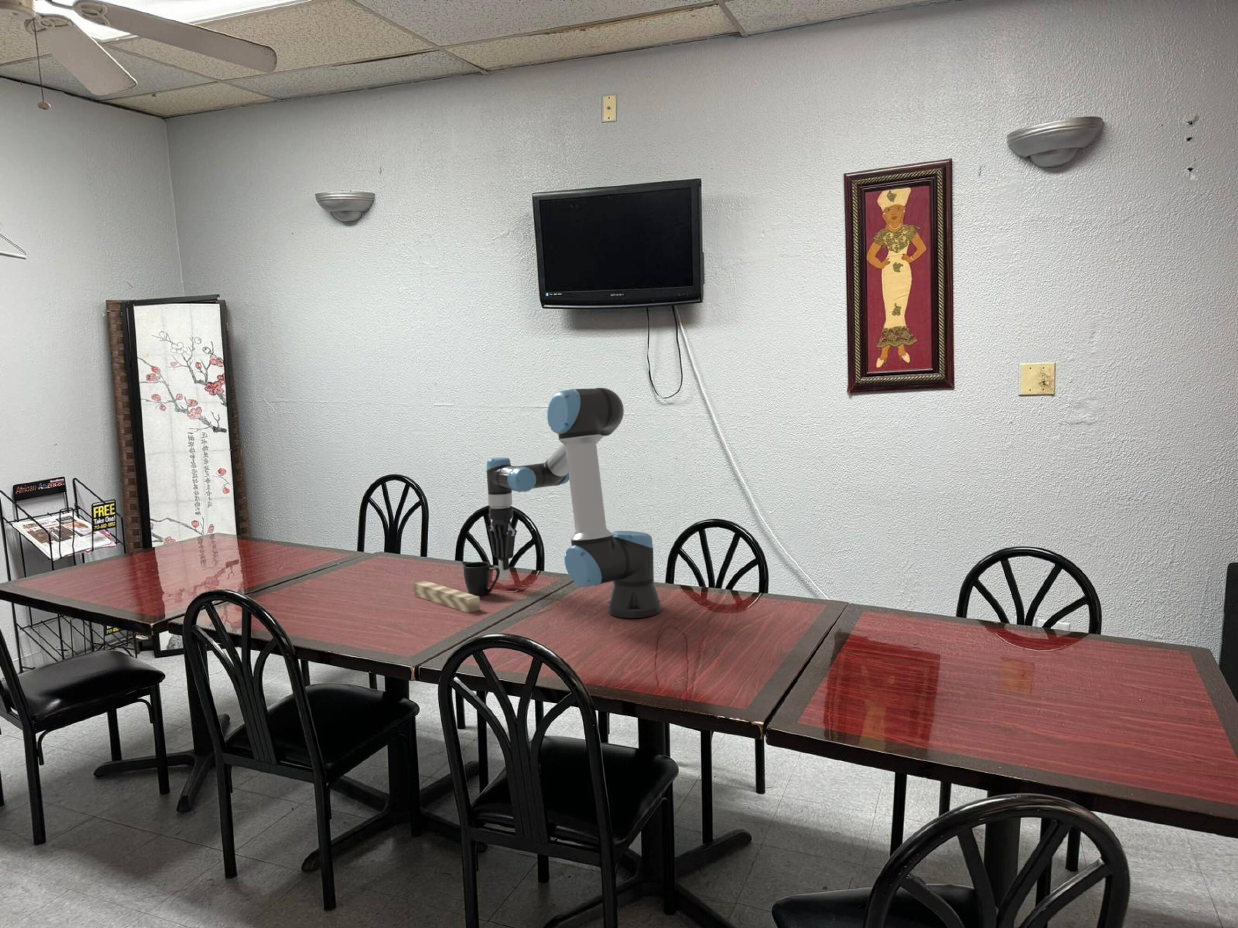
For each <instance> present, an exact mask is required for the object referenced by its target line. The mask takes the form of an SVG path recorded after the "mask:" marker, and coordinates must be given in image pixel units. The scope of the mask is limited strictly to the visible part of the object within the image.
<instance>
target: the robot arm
mask: <svg viewBox="0 0 1238 928" xmlns="http://www.w3.org/2000/svg"><path fill="white" fill-rule="evenodd" d="M546 412H547V414H546V415H547V416H546V417H547V423H548V426H549V428H550V430H551V431H552V432H553V433H555V434H557V435H558V441H559V442H560V443H561V445H560V446H559V447H558V448H557V449H556V450H555V451H554V452H553V453H552V454H551V455H550V456H549V458H548V459H546V461H545V462H542V463H534V464H526V465H525V464H524V465H512V464H511V459H510V458H509V457H504V456H503V457H491V458H489V459H487V461H486V480H487V482H486V483H487V503H488V507H489V508H488V518H489V520H491V524H490V526H487V527H486V529H487V532H488V534H489V540H490V545H491V550H492V555H493V556H494V557H496V559H497V564H498V565H497V566H498V567H497V568H499V569H500V575H499V578H498V580H500V581H505V580H509V579H510V559H513V558H514V553H515V552H514V551H515V542H516V541H515V540H516V535H517V532H518V530H517V529H513V527H512V526H513V525H512V521H511V519H513V518H514V508H513V506H512V505H513V495H512V494H513V493H512V492H513V491H514V492H518V493H527V492H530V491H531V490H533V489H540V488H546V487H547V488H548V487H556V486H557V487H558V486H560V485H565V484H567V483H568V482H569V488H570V496H571V497H570V498H571V504H572V514H573V515H572V516H573V521H574V522H573V523H574V530H575V532H574V534H573V535H572V537H570V541H571V542H570V543H571V546H569V547H568V548H567V549H566V550H565V554H564V565H565V566H564V567H565V569H566V572H567V574H568V576H569V577H570V579H571V580H573V582H574V583H575V584H576V585H578V586H580V587H583V588H587V587H597V586H599V585H602V584H607V583H610V582H613V587H612V591H611V595H610V600H609V601H608V604H607V605H608V606H607V607H608V614H610V615H611V616H614V617H617V618H622V619H624V618H625V619H639V618H640V619H641V618H648V617H649V618H650V617H652V616H655V615H657V614H660V612H661V611H662V607H661V605H662V604H661V600H660V598H659V596H658V592H657V589H656V586H655V574H654V573H655V571H654V549H655V548H654V545H653V537H652V536H651V535H650V534H649V533H646V532H642V531H633V530H614V531H613V532H611V531H610V530H609V529H608V528H607V522H606V514H605V513H606V512H605V506H604V498H603V497H604V496H603V491H602V490H603V489H602V482H601V481H602V480H601V471H600V463H599V455H598V448H597V447H598V446H597V444H598V443H599V442H600V441H601V440H602V438H604V437H609V436H610V435H611V434H613V433H614V432H615V431H616V430H617V428H619V426H620V425H621V423H622V421H623V418H624V413H625V410H624V404H623V401H622V399H621V398H620V396H619V394H617V393H616V392H615V391H613V390H611V389H610V388H606V387H594V388H571V389H570V388H569V389H565V390H560V391H558V392H556V393H555V394H554V395H552V398H551V399H550V400H549V403H548V406H547V411H546Z"/></svg>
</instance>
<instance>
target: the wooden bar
mask: <svg viewBox="0 0 1238 928" xmlns="http://www.w3.org/2000/svg"><path fill="white" fill-rule="evenodd" d="M413 587H414V588H413V589H414V591H413V592H414V596H415V597H419V598H422V599H423V600H427V601H431V602H433V603H436V604H440V605H443V606H446V607H449V608H452V609H454V610H458V611H461V612H464V613H468V614H470V613H474V612H478V611H481V604H480V603H481V601H480V596H475V595H472V594H469V592H468V593H467V592H466V591H461V590H458V589H456V588H455V589H454V588H451V587H448V586H443V585H440V584H438V583H434V582H431V581H427V580H421V581H418V582H413Z"/></svg>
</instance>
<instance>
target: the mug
mask: <svg viewBox="0 0 1238 928" xmlns="http://www.w3.org/2000/svg"><path fill="white" fill-rule="evenodd" d="M462 567H463V576H464V577H463V578H464V582H465V586H466V590H467V591H468V593H469V594H472V595H475V596H479V597H484V596H486V595H488V594H490V593H491V592H492V591H493V589H494V587H495V585H496V584H497V581H498V580H499V575H500V569H499V567H494V566H493V567H491V564H490V563H489V562H487V561H473V562H467V563H465V564H464V565H463V566H462ZM491 570H495V572H496V575H495V578H494V581H493V583H492V585H491V586H490V582H491ZM489 586H490V587H489Z"/></svg>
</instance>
